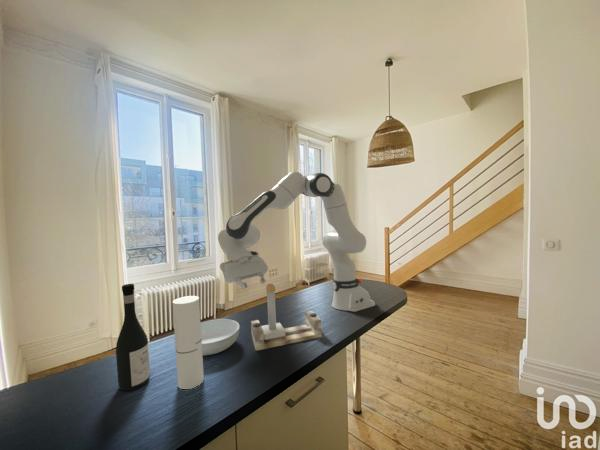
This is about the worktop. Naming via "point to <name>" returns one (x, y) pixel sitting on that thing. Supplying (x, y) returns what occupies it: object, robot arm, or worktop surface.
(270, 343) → the rail
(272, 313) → the carriage
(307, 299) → the worktop surface
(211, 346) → the serving bowl
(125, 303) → the wine bottle
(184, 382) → the cylindrical container
